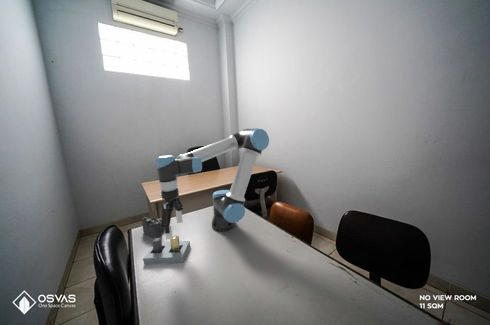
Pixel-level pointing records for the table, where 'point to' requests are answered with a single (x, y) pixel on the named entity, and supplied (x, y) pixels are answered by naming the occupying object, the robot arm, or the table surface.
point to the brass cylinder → (175, 244)
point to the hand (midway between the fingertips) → (175, 229)
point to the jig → (165, 252)
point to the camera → (152, 227)
